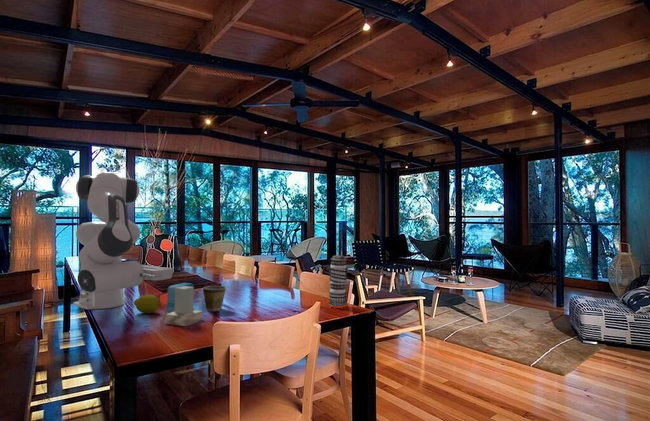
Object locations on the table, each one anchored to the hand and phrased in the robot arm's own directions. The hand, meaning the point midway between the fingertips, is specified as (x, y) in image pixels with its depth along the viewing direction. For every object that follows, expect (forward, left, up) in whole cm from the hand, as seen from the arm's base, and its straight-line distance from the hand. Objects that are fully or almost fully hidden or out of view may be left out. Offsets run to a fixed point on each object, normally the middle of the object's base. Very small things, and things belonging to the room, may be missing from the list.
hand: (162, 269), depth 139 cm
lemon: (-23, +14, -23) cm, 35 cm away
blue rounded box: (-13, +23, -23) cm, 35 cm away
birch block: (0, +12, -23) cm, 26 cm away
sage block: (0, +12, -19) cm, 23 cm away
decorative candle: (+46, +67, -23) cm, 84 cm away
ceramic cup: (-4, +34, -23) cm, 41 cm away
